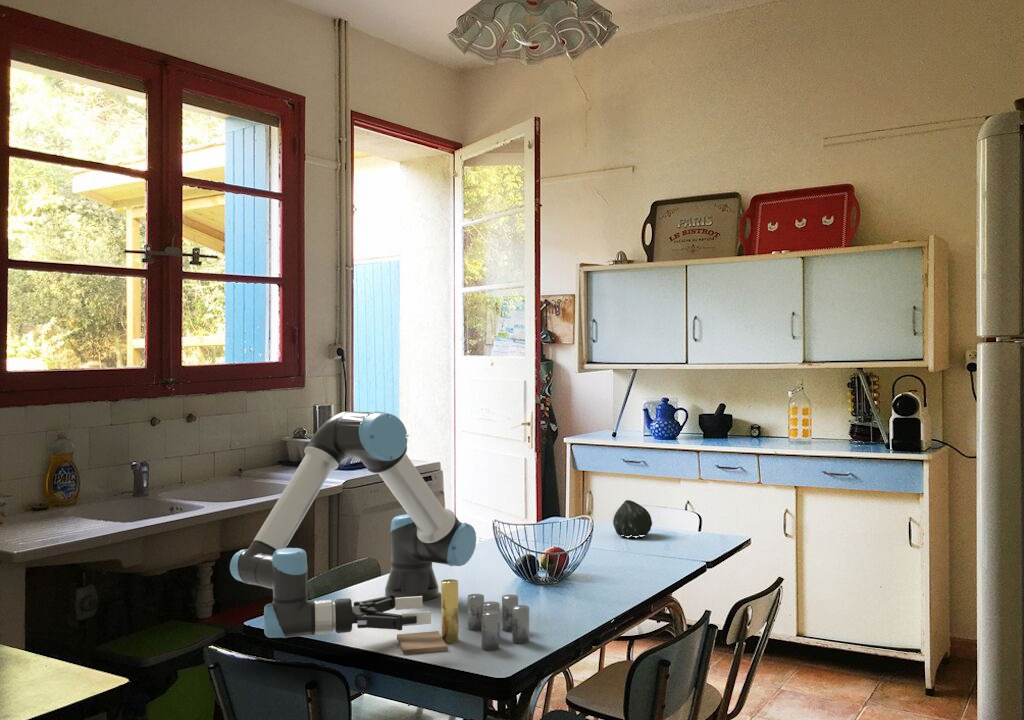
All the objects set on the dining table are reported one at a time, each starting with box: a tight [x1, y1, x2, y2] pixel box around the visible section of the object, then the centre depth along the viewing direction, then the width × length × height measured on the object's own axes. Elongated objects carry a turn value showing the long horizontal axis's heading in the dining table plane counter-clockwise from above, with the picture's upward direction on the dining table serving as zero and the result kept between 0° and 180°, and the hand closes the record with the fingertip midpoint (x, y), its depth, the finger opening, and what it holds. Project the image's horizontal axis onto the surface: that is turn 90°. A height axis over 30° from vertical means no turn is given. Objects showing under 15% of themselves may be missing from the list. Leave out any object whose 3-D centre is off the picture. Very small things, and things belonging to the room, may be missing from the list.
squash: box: [612, 499, 653, 536], centre depth 333 cm, size 14×15×15 cm
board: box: [396, 630, 448, 655], centre depth 204 cm, size 12×10×1 cm
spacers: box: [467, 593, 530, 652], centre depth 210 cm, size 20×12×8 cm, turn 14°
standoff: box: [440, 578, 460, 644], centre depth 207 cm, size 4×4×14 cm
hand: (426, 609), depth 205 cm, fingers open, 13 cm apart
